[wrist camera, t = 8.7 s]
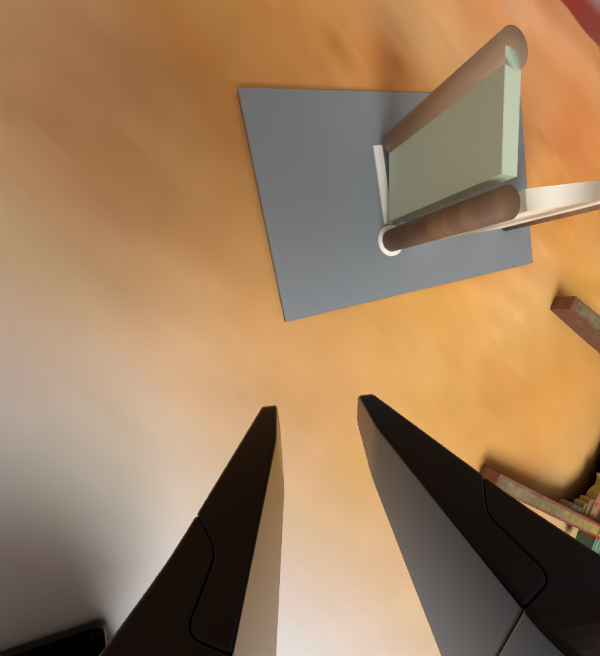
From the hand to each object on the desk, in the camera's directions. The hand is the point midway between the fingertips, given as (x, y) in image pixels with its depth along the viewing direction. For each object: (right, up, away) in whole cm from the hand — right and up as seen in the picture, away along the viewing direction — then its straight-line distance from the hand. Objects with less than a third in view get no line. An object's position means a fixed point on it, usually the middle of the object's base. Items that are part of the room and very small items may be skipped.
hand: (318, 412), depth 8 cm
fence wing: (+6, +13, +12) cm, 19 cm away
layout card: (+8, +12, +14) cm, 20 cm away
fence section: (+12, +10, +15) cm, 21 cm away
